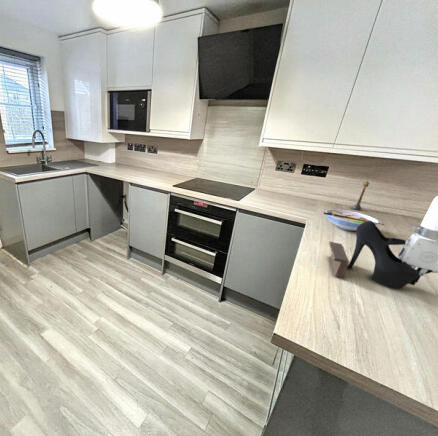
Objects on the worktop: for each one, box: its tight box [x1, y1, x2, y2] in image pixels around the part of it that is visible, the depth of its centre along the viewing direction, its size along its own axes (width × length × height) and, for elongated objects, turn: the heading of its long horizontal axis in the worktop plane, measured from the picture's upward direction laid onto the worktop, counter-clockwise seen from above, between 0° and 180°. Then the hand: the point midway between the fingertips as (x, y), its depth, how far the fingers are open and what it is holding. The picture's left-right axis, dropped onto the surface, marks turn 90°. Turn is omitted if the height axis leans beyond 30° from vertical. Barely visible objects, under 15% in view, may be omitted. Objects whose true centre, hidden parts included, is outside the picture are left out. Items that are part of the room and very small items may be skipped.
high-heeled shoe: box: [347, 221, 419, 290], centre depth 82 cm, size 8×19×20 cm, turn 33°
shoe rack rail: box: [328, 241, 350, 279], centre depth 90 cm, size 4×16×7 cm, turn 149°
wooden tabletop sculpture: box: [351, 180, 370, 211], centre depth 162 cm, size 6×5×20 cm
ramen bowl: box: [323, 208, 386, 232], centre depth 129 cm, size 25×23×8 cm
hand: (408, 282), depth 81 cm, fingers closed
